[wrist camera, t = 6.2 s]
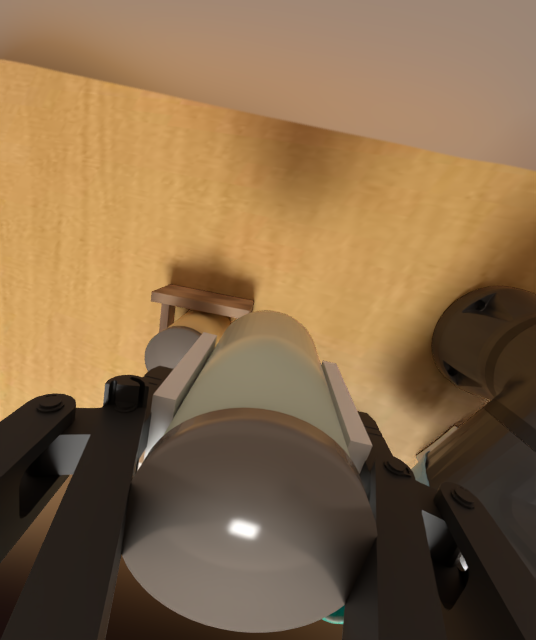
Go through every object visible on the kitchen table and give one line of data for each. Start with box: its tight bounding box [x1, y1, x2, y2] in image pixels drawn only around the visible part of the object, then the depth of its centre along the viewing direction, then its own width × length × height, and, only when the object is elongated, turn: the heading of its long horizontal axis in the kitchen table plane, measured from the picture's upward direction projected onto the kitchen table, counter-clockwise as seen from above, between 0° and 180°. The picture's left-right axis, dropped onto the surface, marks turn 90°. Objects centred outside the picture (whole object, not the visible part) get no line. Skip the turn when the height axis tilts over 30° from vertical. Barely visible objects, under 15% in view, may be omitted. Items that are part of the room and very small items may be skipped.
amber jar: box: [145, 309, 231, 371], centre depth 36 cm, size 7×7×12 cm
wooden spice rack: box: [151, 284, 254, 333], centre depth 41 cm, size 12×26×6 cm, turn 169°
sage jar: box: [121, 311, 378, 632], centre depth 12 cm, size 6×6×11 cm
